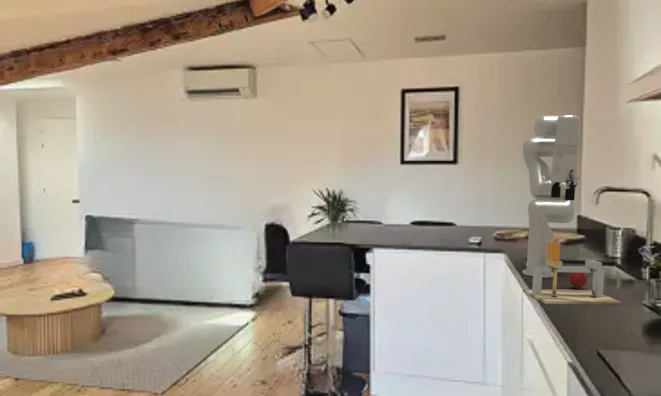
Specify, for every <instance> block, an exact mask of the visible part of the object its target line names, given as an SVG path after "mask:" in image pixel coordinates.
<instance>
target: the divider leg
mask: <svg viewBox="0 0 661 396" xmlns="http://www.w3.org/2000/svg"><path fill="white" fill-rule="evenodd" d="M561 245H562V244H561V243H560V242H557V241H553V242H548V244H547V261H546V265H548V266H551V267H553V268H554V272H553V273H554V274H553V277H552V289H551V290H552V294H556V290H557V286H558V283H557V282H558V273H559V272H558V268H562V266H563V261H562V260H561V259H560V256H561Z"/></svg>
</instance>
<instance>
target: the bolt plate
mask: <svg viewBox="0 0 661 396" xmlns="http://www.w3.org/2000/svg"><path fill="white" fill-rule="evenodd" d="M522 293H525V294H526V295H528V296H530V297H532V298H533V299H536V300H537V301H539V302H541V303H543V304H544V305H596V306H597V305H598V306H599V305H600V306H601V305H604V306H606V305H607V306H608V305H609V306H621V304H622V301H620V300H617V299H615V298H612V297H610V296H608V295H605V294H603V297H597V296H595V295H593V294H592V289H556V294H552V289H549V288H548V289H543V288H542V289H541V296H535V295H533V294H532V288H531V289H530V288H524V289H523V288H522Z"/></svg>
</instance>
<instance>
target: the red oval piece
mask: <svg viewBox="0 0 661 396" xmlns="http://www.w3.org/2000/svg"><path fill="white" fill-rule="evenodd" d="M569 282H570V284H571V285H572V286H573V287H574V288H575V289H576V290H581V289H582V288H583V287H584V286H585V285H586V284H587V282H588V277H587V275H586V273H583V272H570V275H569Z"/></svg>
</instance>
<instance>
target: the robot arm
mask: <svg viewBox="0 0 661 396" xmlns="http://www.w3.org/2000/svg"><path fill="white" fill-rule="evenodd" d="M580 124H581V118H580V116H578V115H575V114H565V115H564V114H563V115H539V116H537V117H536V119H535V121H534V125H533V126H534V128H533V130H534V134H535V136H533V137H532V136H531V137H529V138H527V139H526V138H525V140H524V141H523V145H522V156H523V160H524V163H525V165H526V167H527V170H528V178H529V180H528V181H529V189H530V195H531V197H533V198H534V199H533V200H531V201H530V202H529V203H528V205H527V212H528V242H527V257H526V262H525V266H526V269H523V270H522V274H523V275H525V276H529V277H533V271H534V267H539V266H548V265H546V261H547V244H548V242H554V232H553V230H552V228H551V227H550V226H549V224H548V223H551V224H552V223H555V224H570V223H571V222H572V221H573V220H574V217H575V206H574V200H575V195H576V189H577V185H578V181H579V180H580V179H579V178H580V177H579V176H578V173H577V172H578V152H579V138H580V127H581V125H580ZM542 158H552V162H551V167H550V166H549V165H548V164H547V163H546V162H545V160H543V159H542ZM553 274H554V272H543V274H542V279H543V278H544V279H546V278H547V279H549V278H552V279H553Z"/></svg>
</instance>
